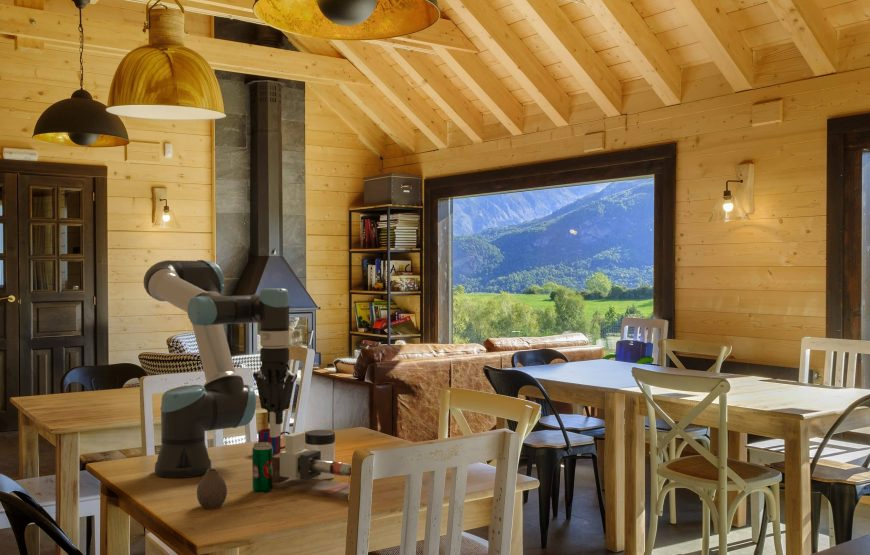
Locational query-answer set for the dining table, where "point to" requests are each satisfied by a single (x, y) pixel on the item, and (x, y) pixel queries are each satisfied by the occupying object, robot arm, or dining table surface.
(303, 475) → the dark grey square collar
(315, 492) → the stand
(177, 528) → the dining table surface
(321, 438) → the jar
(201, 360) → the robot arm
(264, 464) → the soda can
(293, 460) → the sleeve
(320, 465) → the pipe
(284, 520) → the dining table surface
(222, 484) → the vase
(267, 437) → the mug
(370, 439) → the dining table surface
